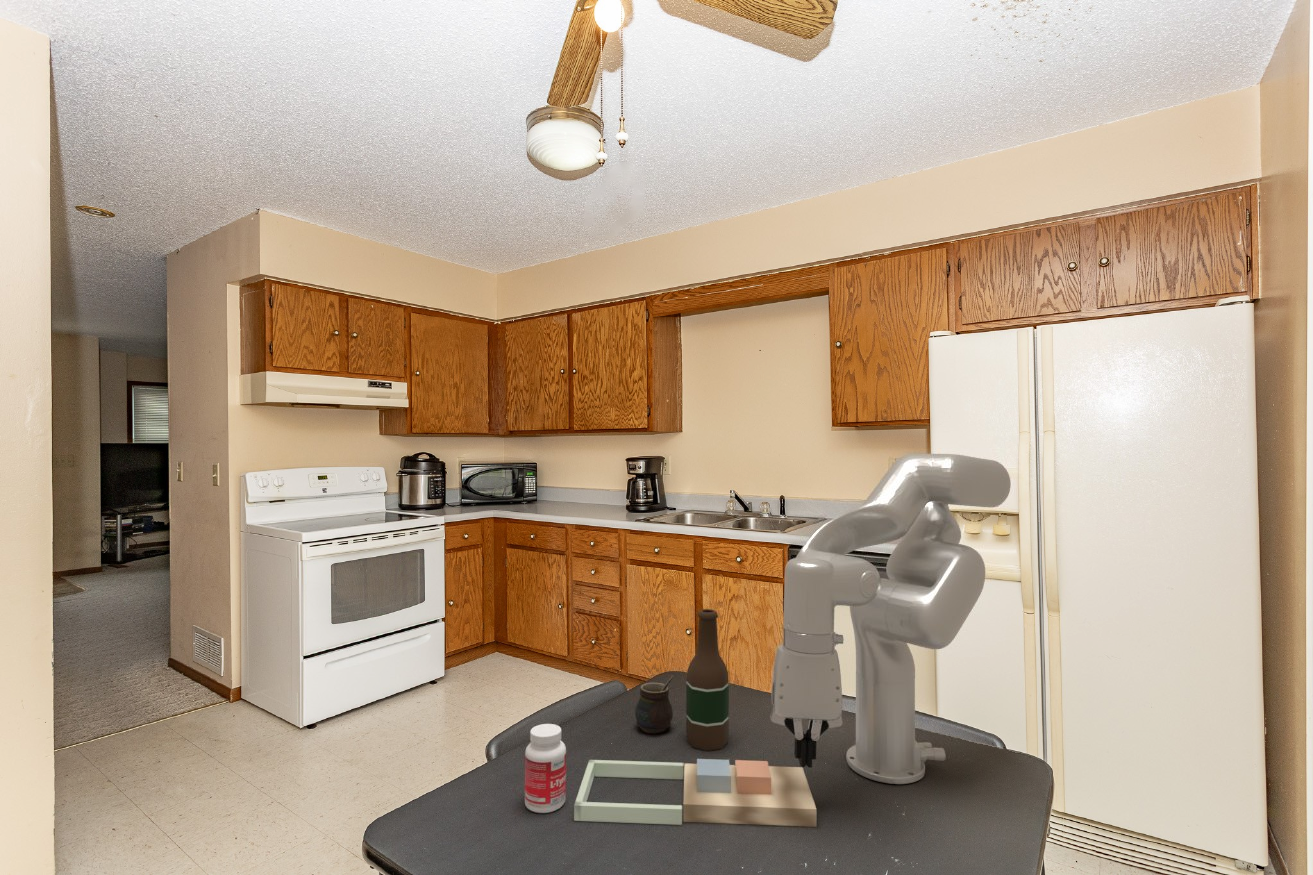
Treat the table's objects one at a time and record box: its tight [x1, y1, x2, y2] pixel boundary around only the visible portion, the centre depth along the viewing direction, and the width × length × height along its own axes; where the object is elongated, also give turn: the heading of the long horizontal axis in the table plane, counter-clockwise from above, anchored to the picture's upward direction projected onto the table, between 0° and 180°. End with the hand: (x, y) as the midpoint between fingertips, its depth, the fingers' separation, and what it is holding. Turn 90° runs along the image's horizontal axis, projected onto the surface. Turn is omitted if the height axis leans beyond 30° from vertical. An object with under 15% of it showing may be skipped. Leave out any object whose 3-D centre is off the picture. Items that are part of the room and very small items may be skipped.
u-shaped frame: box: [573, 759, 684, 826], centre depth 100 cm, size 16×14×2 cm
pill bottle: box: [524, 723, 567, 814], centre depth 98 cm, size 6×6×11 cm
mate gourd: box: [634, 674, 675, 734], centre depth 124 cm, size 7×8×10 cm
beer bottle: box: [685, 608, 730, 752], centre depth 118 cm, size 8×8×24 cm
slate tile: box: [696, 758, 731, 793], centre depth 99 cm, size 5×5×2 cm
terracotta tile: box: [734, 759, 771, 794], centre depth 99 cm, size 5×5×2 cm
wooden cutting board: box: [682, 763, 818, 828], centre depth 99 cm, size 19×12×2 cm, turn 87°
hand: (804, 762), depth 98 cm, fingers closed
